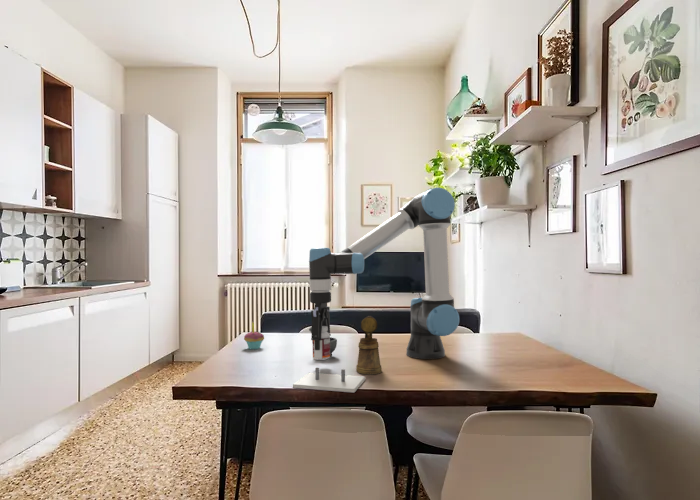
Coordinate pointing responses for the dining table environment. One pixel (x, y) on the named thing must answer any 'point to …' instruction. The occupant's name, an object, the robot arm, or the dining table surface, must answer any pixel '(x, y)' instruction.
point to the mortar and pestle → (332, 343)
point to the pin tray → (330, 382)
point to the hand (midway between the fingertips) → (321, 356)
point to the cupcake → (254, 339)
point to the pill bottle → (324, 343)
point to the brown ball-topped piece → (368, 349)
